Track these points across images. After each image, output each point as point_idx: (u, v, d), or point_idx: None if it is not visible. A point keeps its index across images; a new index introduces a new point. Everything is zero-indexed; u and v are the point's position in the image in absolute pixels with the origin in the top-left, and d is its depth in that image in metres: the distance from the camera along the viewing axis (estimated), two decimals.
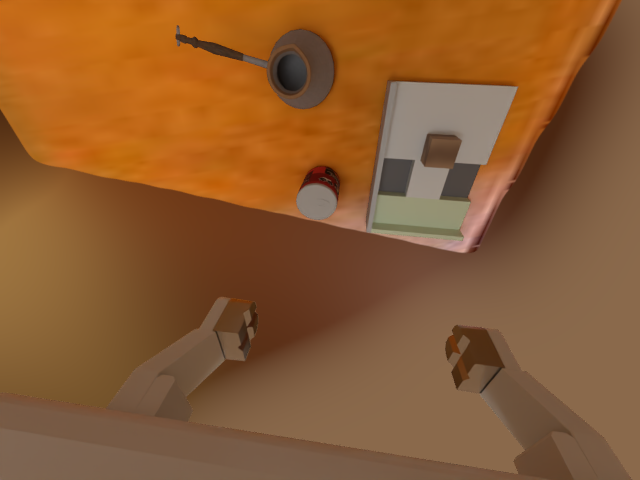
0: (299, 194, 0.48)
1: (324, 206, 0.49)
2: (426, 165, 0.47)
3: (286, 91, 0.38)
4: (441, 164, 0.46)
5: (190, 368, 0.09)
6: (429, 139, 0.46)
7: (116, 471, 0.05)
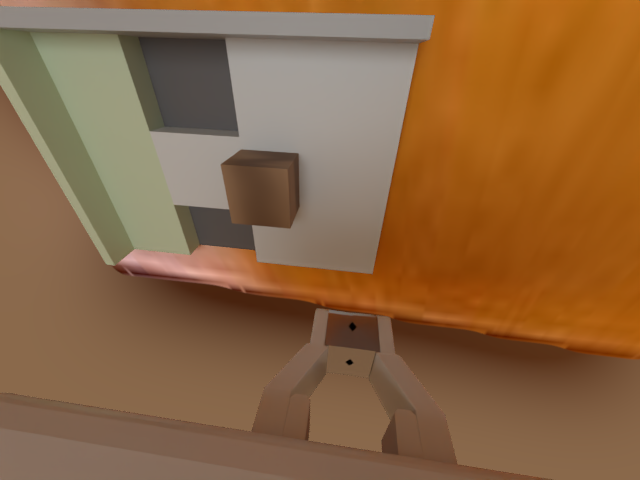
0: None
1: None
2: (225, 167, 0.19)
3: None
4: (236, 200, 0.20)
5: (307, 384, 0.08)
6: (285, 162, 0.19)
7: (116, 471, 0.05)
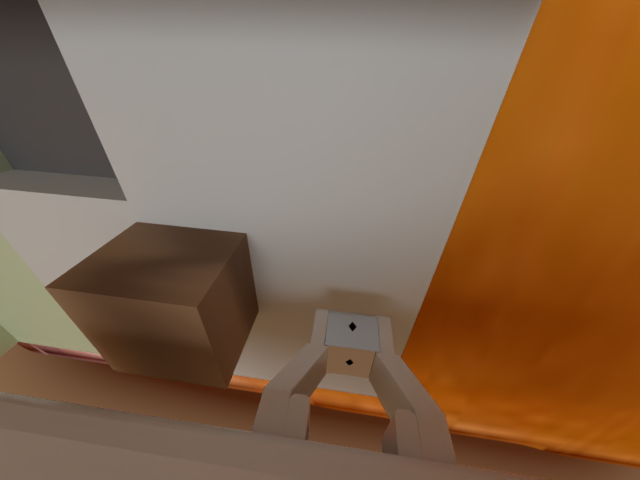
0: None
1: None
2: (57, 293, 0.08)
3: None
4: (106, 342, 0.09)
5: (307, 384, 0.08)
6: (205, 272, 0.09)
7: (116, 471, 0.05)
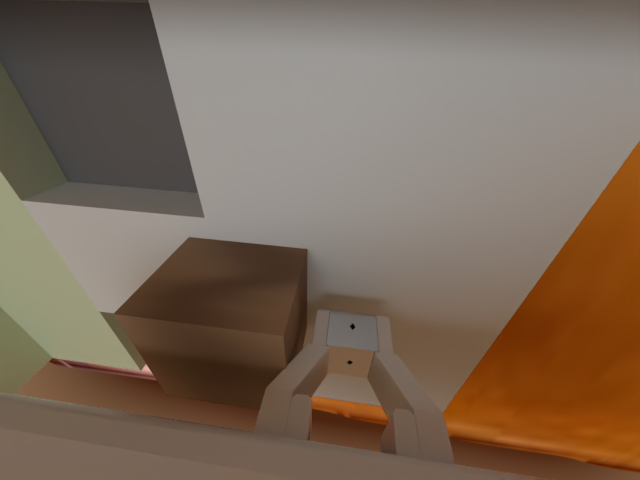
0: None
1: None
2: (126, 320, 0.07)
3: None
4: (168, 368, 0.09)
5: (308, 385, 0.08)
6: (279, 294, 0.08)
7: (116, 471, 0.05)
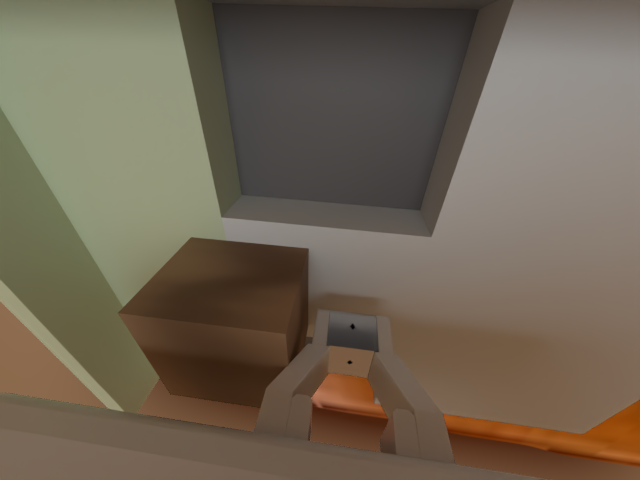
0: None
1: None
2: (130, 319, 0.08)
3: None
4: (171, 367, 0.09)
5: (308, 385, 0.08)
6: (281, 293, 0.08)
7: (116, 471, 0.05)
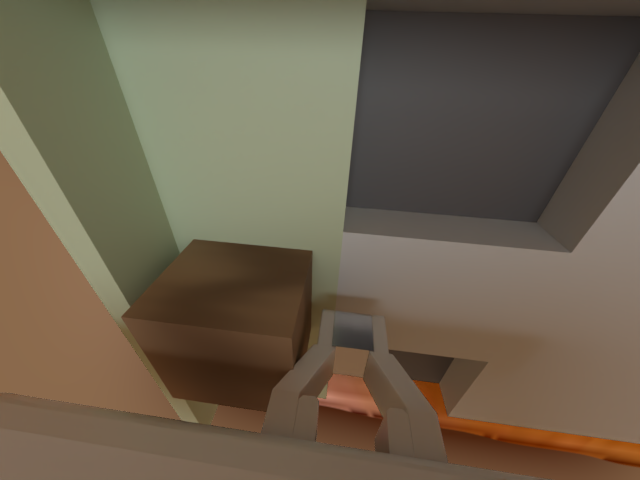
0: None
1: None
2: (134, 323, 0.07)
3: None
4: (174, 371, 0.09)
5: (314, 385, 0.08)
6: (286, 296, 0.08)
7: (116, 471, 0.05)
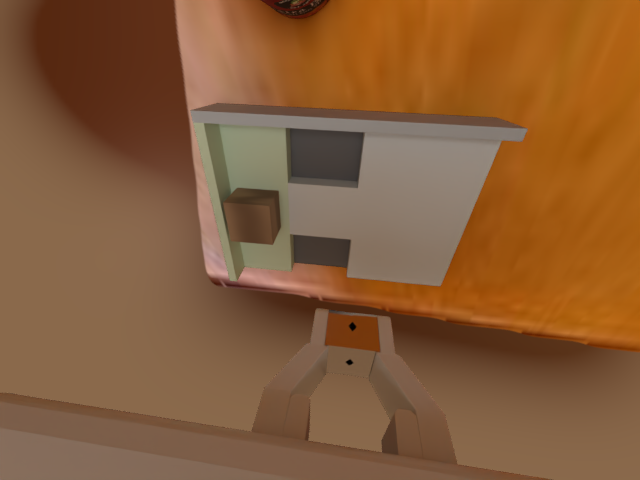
0: None
1: None
2: (226, 204, 0.27)
3: None
4: (234, 225, 0.28)
5: (307, 384, 0.08)
6: (268, 199, 0.28)
7: (116, 471, 0.05)
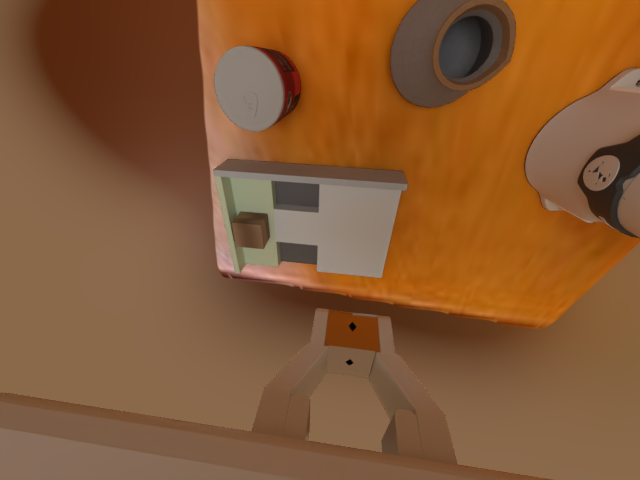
0: (258, 54, 0.25)
1: (244, 107, 0.28)
2: (233, 223, 0.42)
3: (443, 37, 0.22)
4: (238, 236, 0.44)
5: (307, 384, 0.08)
6: (260, 220, 0.43)
7: (116, 471, 0.05)
